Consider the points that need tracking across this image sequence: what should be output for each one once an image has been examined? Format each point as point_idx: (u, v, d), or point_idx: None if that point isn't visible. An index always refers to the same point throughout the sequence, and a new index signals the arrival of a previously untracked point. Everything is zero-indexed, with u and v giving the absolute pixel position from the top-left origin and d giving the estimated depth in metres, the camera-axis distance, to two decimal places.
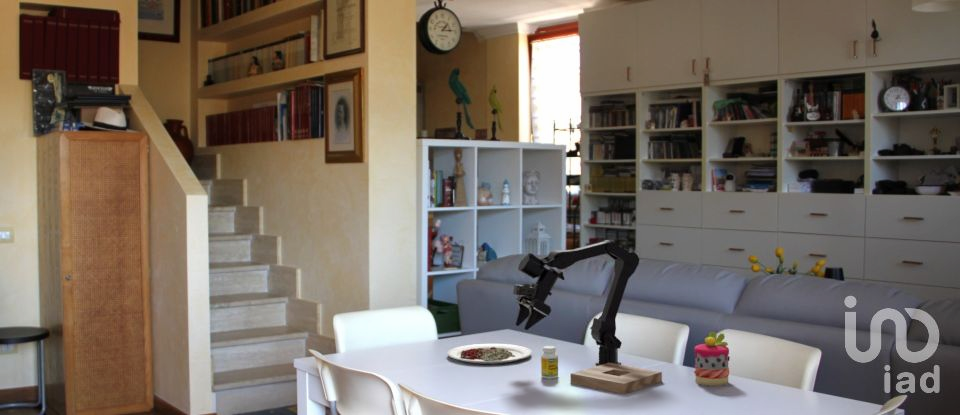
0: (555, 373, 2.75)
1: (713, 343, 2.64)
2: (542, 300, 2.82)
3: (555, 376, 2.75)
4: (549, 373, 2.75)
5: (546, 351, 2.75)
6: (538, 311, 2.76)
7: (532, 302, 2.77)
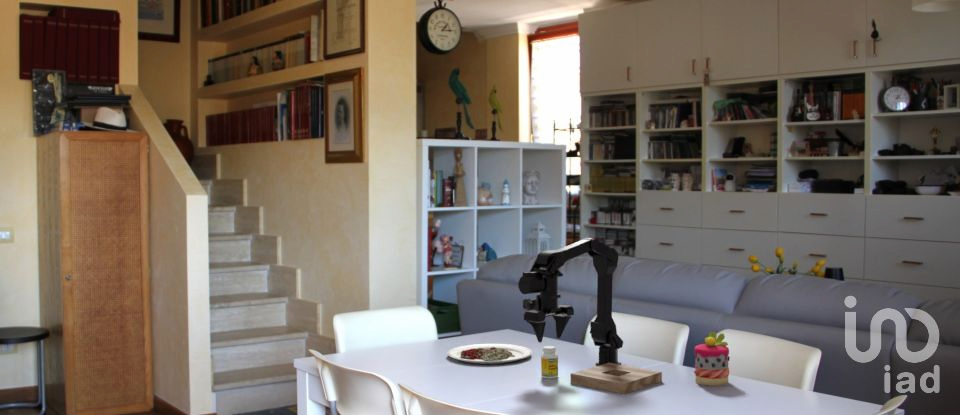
0: (555, 373, 2.75)
1: (713, 343, 2.64)
2: (546, 307, 2.74)
3: (555, 376, 2.75)
4: (549, 373, 2.75)
5: (546, 351, 2.75)
6: (531, 321, 2.71)
7: None
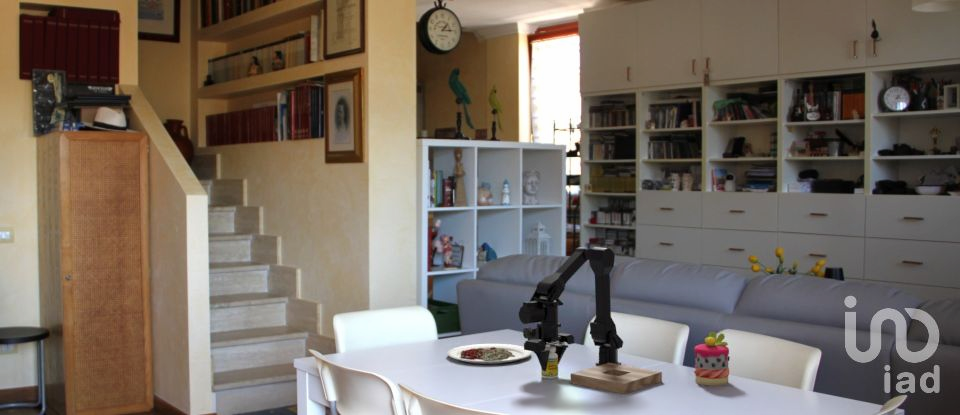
0: (555, 373, 2.75)
1: (713, 343, 2.64)
2: (546, 336, 2.74)
3: (555, 376, 2.75)
4: (549, 373, 2.75)
5: None
6: None
7: None
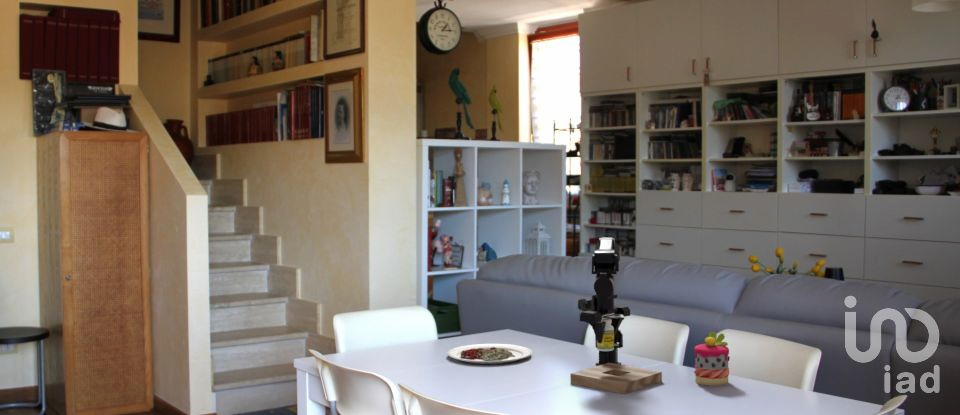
0: (611, 345, 2.68)
1: (713, 343, 2.64)
2: (602, 307, 2.67)
3: (611, 349, 2.68)
4: (605, 346, 2.67)
5: None
6: None
7: None
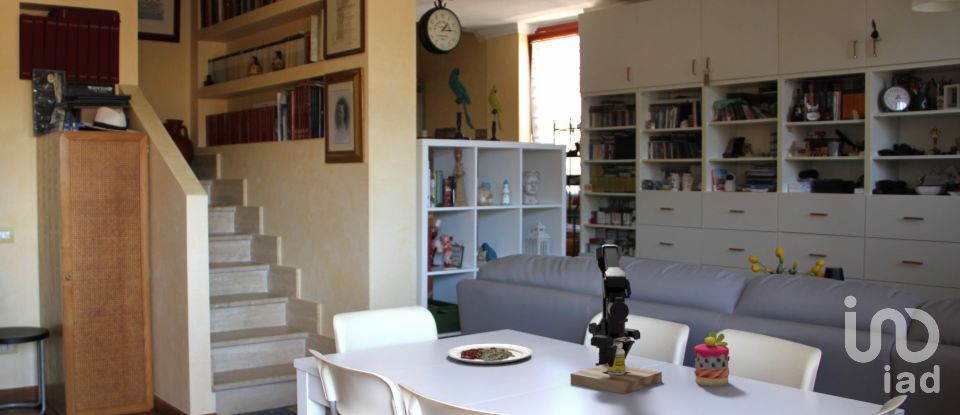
0: (622, 369, 2.67)
1: (713, 343, 2.64)
2: (613, 331, 2.66)
3: (622, 372, 2.67)
4: (616, 370, 2.66)
5: None
6: None
7: None
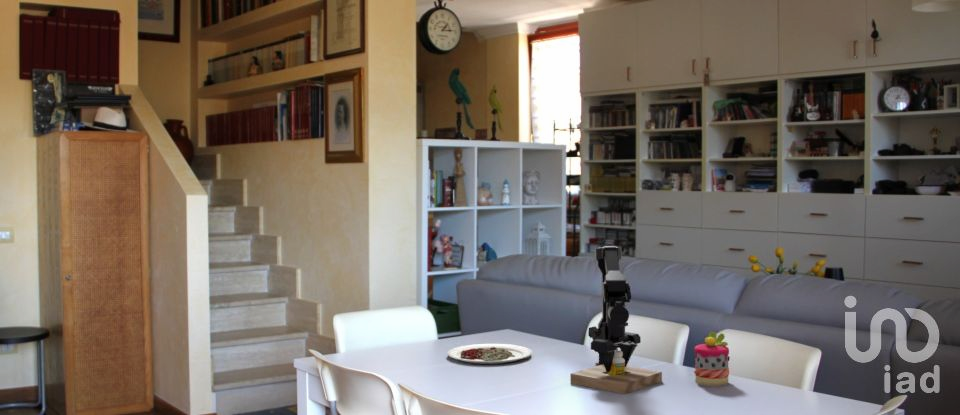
0: None
1: (713, 343, 2.64)
2: (613, 335, 2.66)
3: None
4: None
5: None
6: (600, 351, 2.63)
7: None
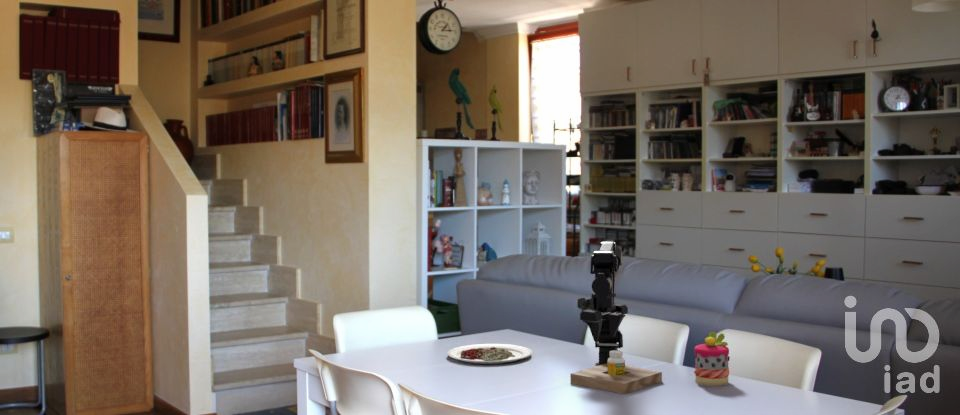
0: None
1: (713, 343, 2.64)
2: (601, 306, 2.75)
3: None
4: None
5: (613, 355, 2.67)
6: (588, 321, 2.72)
7: None
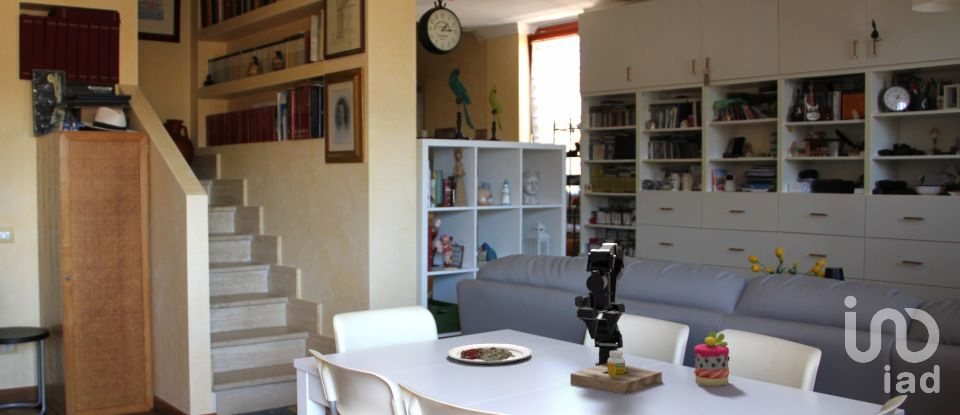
0: None
1: (713, 343, 2.64)
2: (598, 304, 2.77)
3: None
4: None
5: (613, 355, 2.67)
6: (585, 318, 2.74)
7: None
